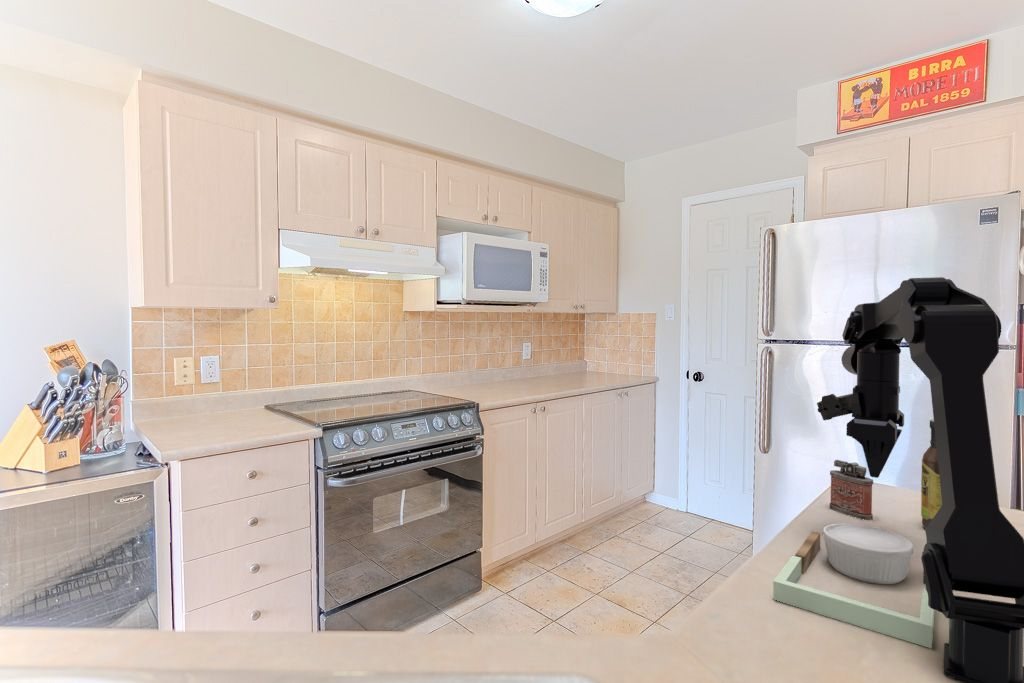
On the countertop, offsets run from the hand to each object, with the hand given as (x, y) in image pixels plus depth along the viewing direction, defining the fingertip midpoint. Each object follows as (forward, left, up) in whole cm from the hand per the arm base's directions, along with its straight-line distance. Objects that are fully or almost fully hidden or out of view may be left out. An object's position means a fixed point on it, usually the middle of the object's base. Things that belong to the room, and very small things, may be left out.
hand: (876, 474), depth 87 cm
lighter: (+16, +5, -12) cm, 21 cm away
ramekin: (-12, 0, -12) cm, 17 cm away
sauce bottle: (+16, -9, -12) cm, 22 cm away
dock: (-25, 0, -12) cm, 27 cm away
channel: (-13, 0, -12) cm, 18 cm away
